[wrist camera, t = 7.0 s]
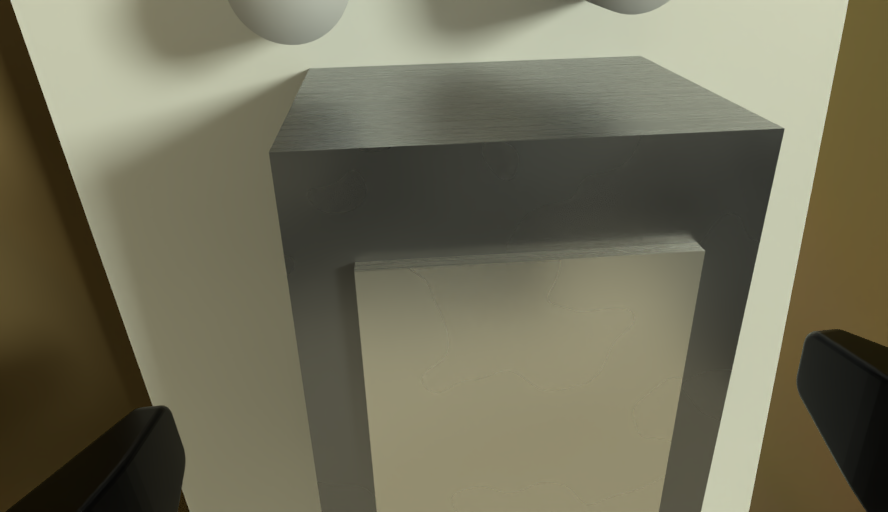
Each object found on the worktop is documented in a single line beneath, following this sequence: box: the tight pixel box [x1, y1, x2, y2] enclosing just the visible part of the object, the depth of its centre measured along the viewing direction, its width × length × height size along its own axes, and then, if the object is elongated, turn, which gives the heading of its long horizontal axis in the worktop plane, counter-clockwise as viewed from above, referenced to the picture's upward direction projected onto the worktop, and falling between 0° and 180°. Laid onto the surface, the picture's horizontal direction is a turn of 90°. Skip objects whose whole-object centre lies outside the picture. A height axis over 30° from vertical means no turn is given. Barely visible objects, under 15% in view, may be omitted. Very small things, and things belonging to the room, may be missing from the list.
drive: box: [269, 56, 785, 512], centre depth 10 cm, size 5×8×4 cm, turn 1°
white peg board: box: [11, 0, 848, 512], centre depth 11 cm, size 12×16×3 cm
